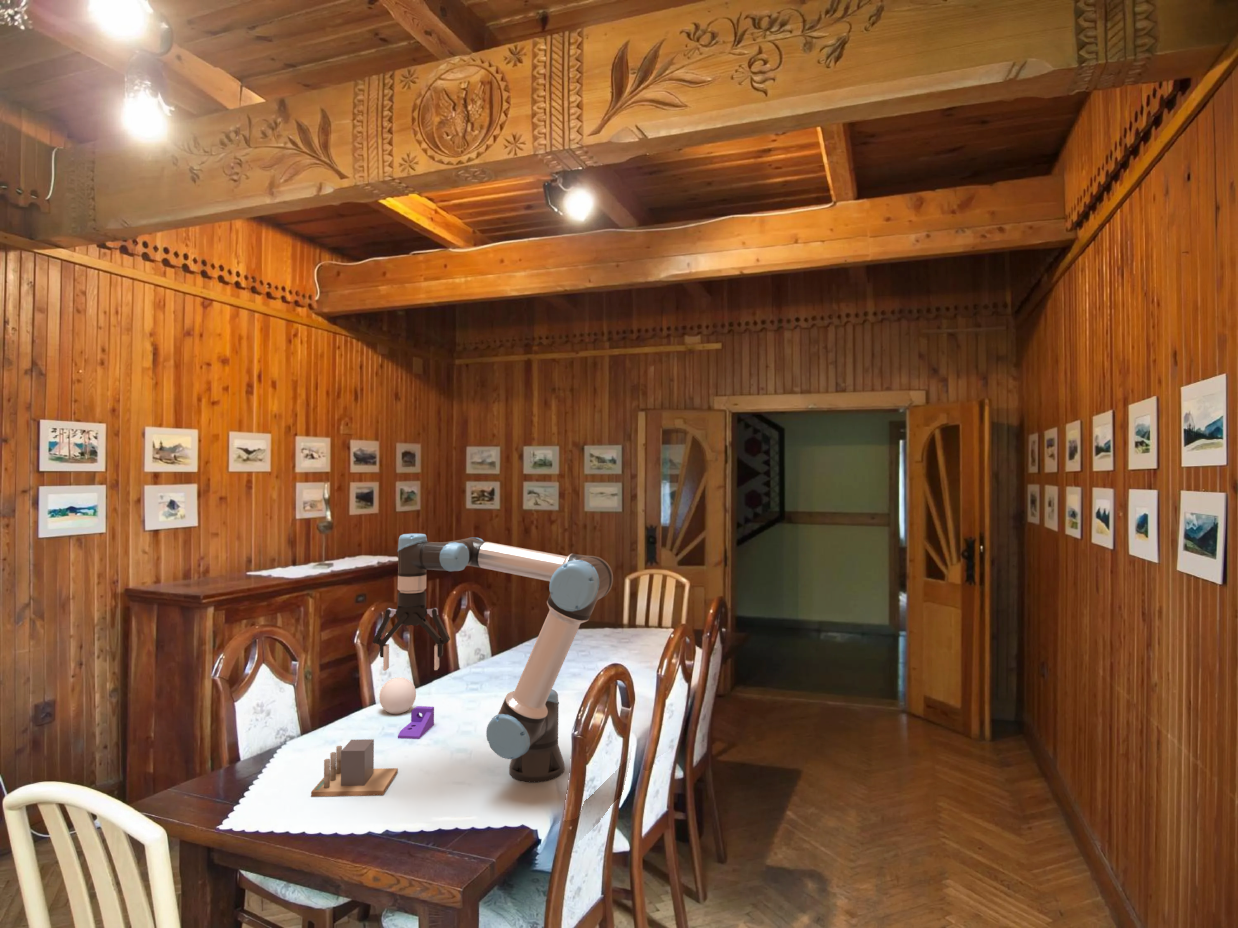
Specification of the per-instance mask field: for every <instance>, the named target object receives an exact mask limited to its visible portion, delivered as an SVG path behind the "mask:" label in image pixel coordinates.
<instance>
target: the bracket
mask: <svg viewBox="0 0 1238 928" xmlns="http://www.w3.org/2000/svg"><path fill="white" fill-rule="evenodd" d="M420 714H421V715H420ZM410 716H411V717H410V722H408V724H406V726H404V727H403V728H402V729H401V730H399V732H398V735H397V739H406V740H408V739H409V740H410V739H411V740H420V739H421V738H422V737H423V736H424V735H425V734H426V733H427V732H428V731H429V730H431V728H432V727H434V725H435V706H423V705H417V706H415V707H414V708H413V709H412V710H411V713H410Z"/></svg>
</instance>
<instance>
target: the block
mask: <svg viewBox="0 0 1238 928" xmlns="http://www.w3.org/2000/svg"><path fill="white" fill-rule="evenodd" d="M374 750H375V739H374V738H373V739H372V738H370V739H369V738H368V739H365V738H364V739H350V741H349V742H348V743H347V744H346V745H345V746H344V747H342V751H341V786H365V784H366V783H367V781H368V780H369V779H370V777H371V776H372V774H373V773H374V769H375V767H374V763H375V761H374V760H375V759H374V757H375V752H374Z"/></svg>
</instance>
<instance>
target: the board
mask: <svg viewBox="0 0 1238 928" xmlns="http://www.w3.org/2000/svg"><path fill="white" fill-rule="evenodd" d="M335 747H336V749H335V751H333V752H330V753H329V754H330V755H329V756H330V757H329V758H326V759H324V760H323V777H322V779H321V780H320V781H319V782H318V783H317V785H316V786H315V787H314V788H313V789H312V790H311V793H310V797H311V798H312V797H355V796H356V797H358V796H360V797H361V796H365V797H367V796H368V797H369V796H370V797H371V796H384V794H385V793H386V791H387V790H388V789H389V787H390V786H391V784H392V783H393V780H394V779H395V778H396V776H397V774H399V773H398V772H399V771H398V770H399V769H398V767H393V768H389V767H387V768H383V767H382V768H374V773H373V774H372V776H371V777H370V779H369V780H368V781H367V783H366V784H365V786H341V751H342V749H343V746H342V745H337V746H335Z"/></svg>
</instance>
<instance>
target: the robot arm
mask: <svg viewBox="0 0 1238 928" xmlns="http://www.w3.org/2000/svg"><path fill="white" fill-rule="evenodd" d="M397 566H398V567H397V570H398V571H397V590H398V593H397V608H396V609H394V608H392V607H388V608H387V609H385V611H384V617H383V620H382V622H381V624H380V625H379V628H378V629H377V632H376V634H375V636H374V637H373V640H372V643H373V644H375V645H379V657H380V658H383V666H382V668H383V670H382V671H386V672H387V670H389V668H390V643H388V641H389V640H390V639H391V638H392V637H393V636H394V634H395V633H396V632H397V631H398V630H399V629H400V628H401V626H402V625H403V626H405V627H406V626H407V627H408V626H414V627H415V626H416V627H417V626H418V625H419V626H421V628H422V629H424V631H425V632H426V634H428V635H429V637H430V638H431V639H432V640H433V641H434V643H435V645H434V646H433V647H434V649H433V650H434V654H433V656H434V659H433V660H434V664H433V666H434V667H433V669H434V671H438V669H439V668H440V658H442V657H443V655H444V644H447V643H449V642H450V640H451V637H450V636H449V634H448V631H447V629H446V628H445V625H444V623H443V622H442V619H441V617H440V615H439V608H438V607H433V608H427V591H426V589H427V570H428V571H430V570H431V571H433V570H434V571H443V572H444V571H445V572H446V571H448V572H452V573H453V572H459V571H463V570H465V568H466V567H474V568H480V569H485V570H492V571H495V572H502V573H505V574H509V575H510V574H512V575H516V576H522V577H527V578H530V579H536V580H541V581H545V582H549V586H548V587H549V595H548V598H547V600H546V604H547V607H548V609H549V611H548V613H547V616H546V617H545V620H544V622H543V625H542V626H541V630H540V631H539V634H538V636H537V639H536V641H535V642H534V645H533V648H532V649H531V653H530V655H529V656H528V659H527V662H526V664H525V666H524V668H523V670H522V673H521V676H520V678H519V680H518V682H517V685H516V687H515V689H514V691H513V690H512V691H510V692H508V693H507V694H506V696H505V698H504V700H503V702H502V704H501V707H500V709H499V712H497V714H496V715H494V716H493V717H492V718H491V720H490V721H489V722H488V724H487V726H486V733H485V735H486V740H487V742H488V745H489V747H490V749H491V750H492V751H493V752H494V753H495V754H496V755H497V756H498V757H500V758H502V759H505V760H511V761H510V762H509V767H508V769H509V771H508V772H509V776H510V777H511V778H512V779H513V780H516V781H517V782H523V783H532V784H533V783H544V782H548V781H551V780H555V779H557V778H559V777H561V775H563V773H564V772H565V762H564V759H563V755H562V752H561V749H560V746H559V706H560V705H559V704H560V702H559V694H558V692H557V691H556V690H554V689H553V688H554V685H555V682H556V681H557V678H558V677H559V673H560V671H561V669H562V667H563V665H564V662H565V660H566V658H567V656H568V654H569V652H570V648H571V646H572V644H573V642H574V639H575V637H576V634H577V632H578V631H579V628H580V625H581V624H583V623H586V622H588V621H589V620H590V618H591V615H592V613H593V611H594V609H595V607H596V604H597V602H598V600H601V599H602V598H604V597H605V596H607V595H608V593H609V592H610V591H611V589H612V586H613V583H614V575H613V570H612V568H611V566H610V565H609V563H608V562H607V561H606V560H604V559H603V558H601V557H599V556H594V555H586V554H585V555H583V554H577V553H570V554H568V555H561V554H557V553H552V552H551V553H550V552H545V551H541V550H540V551H539V550H534V549H529V548H522V547H518V546H512V545H506V544H502V543H501V544H500V543H496V542H491V541H485V540H483V539H482V538H479V537H468V538H462V539H457V540H451V541H443V542H441V541H440V542H439V541H435V542H433V541H428V538H427V535H426V534H425V533H403V534H401V535H399V538H398V545H397ZM427 615H429V617H431V618H432V620H433V623H435V627H436V628H437V630H438V632H439V633H438V632H437V631H436V630H435V629H434V627H433V626H432V625H431V624H430V623H429V621H428V619H426V616H427ZM394 616H396V618H398V620H397V622H396V623H395V624H394V625H393V626H392V628H391V629H390V630H389V631H388V632H387V633H386V635H385V636H384V637H383V638H382V636H383V634H384V632H385V631H386V629H387V627H388V624H389V622H390V620H392V618H393V617H394ZM439 634H440V635H439Z"/></svg>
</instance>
